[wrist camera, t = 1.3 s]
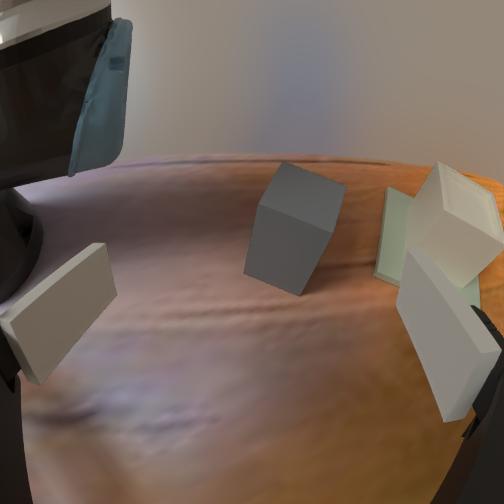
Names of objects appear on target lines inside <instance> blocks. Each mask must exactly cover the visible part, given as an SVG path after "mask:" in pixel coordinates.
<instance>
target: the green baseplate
mask: <svg viewBox="0 0 504 504" xmlns="http://www.w3.org/2000/svg"><path fill="white" fill-rule="evenodd" d="M413 199H414V198H413V197H411V196H409V195H406V194H404V193H402V192H400V191H398V190H396V189H394V188H392V187H390V186H388V187H387V189H386V191H385V200H384V209H383V217H382V224H381V232H380V239H379V245H378V252H377V258H376V264H375V269H374V275H373V276H374V277H376V278H379V279H381V280H383V281H386V282H388V283H390V284H393V285H395V286H397V287H400V282H401V277H402V272H403V266H404V254H405V240H406V223H407V208H408V207H409V205H410V204H411V202H412V201H413ZM452 284H453V283H452ZM453 285H454V286H455V287H456V289H457V290H458V291H459V292H460V294H461V295H462V296H463V297H464V299H465V300H466V301H467V303H468V304H469V305H475V306H476V307H477V308H479V309H480V291H479V277H478V275H477V276H476V277H475V278H474V279H473V280H471V281H470V282H469V283H468V284H467V285H466V286H465V287H464V288H462V287H460V286H458V285H455V284H453Z"/></svg>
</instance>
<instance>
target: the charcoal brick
mask: <svg viewBox="0 0 504 504" xmlns="http://www.w3.org/2000/svg"><path fill="white" fill-rule="evenodd" d="M345 190H346V186H345V185H343V184H340V183H338V182H335V181H333V180H330V179H328V178H325V177H323V176H320V175H318V174H315V173H313V172H310V171H308V170H305V169H302V168H300V167H297V166H294V165H292V164H289V163H286V162H284V161H282V163H281V165H280V167H279V168H278V170H277V172H276V174H275V175H274V177H273V179H272V180H271V182H270V184H269V186H268V187H267V189H266V191H265V193H264V194H263V196H262V198H261V199H260V201H259V203H258V207H257V211H256V216H255V221H254V226H253V230H252V235H251V240H250V245H249V250H248V254H247V259H246V264H245V269H244V274H246V275H248V276H251V277H253V278H256V279H258V280H260V281H263V282H265V283H268V284H270V285H272V286H275V287H277V288H280V289H282V290H285V291H287V292H289V293H292V294H294V295H297V296H300V295H301V293H302V291H303V289H304V287H305V286H306V284H307V282H308V280H309V278H310V276H311V275H312V273H313V271H314V269H315V267H316V265H317V263H318V262H319V260H320V258H321V256H322V254H323V252H324V250H325V248H326V247H327V245H328V243H329V241H330V239H331V237H332V235H333V233H334V229H335V226H336V222H337V219H338V215H339V212H340V208H341V205H342V201H343V197H344V194H345Z"/></svg>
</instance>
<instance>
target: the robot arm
mask: <svg viewBox="0 0 504 504" xmlns="http://www.w3.org/2000/svg"><path fill="white" fill-rule="evenodd" d="M132 29H133V26H132V22H131V21H129V20H126V19H122V18H116V19H115V20H112V18H111V0H0V303H1V302H2V301H4V300H5V299H7V298H8V297H9V296H11V295H12V294H13V293H14V292H15V291H16V290H17V289H18V288H19V287H20V286H21V285H22V283H23V282H24V281H25V280H26V278H27V277H28V275H29V274H30V272H31V271H32V269H33V267H34V265H35V263H36V261H37V258H38V256H39V253H40V249H41V245H42V226H41V222H40V220H39V218H38V216H37V214H36V212H35V210H34V208H33V207H32V205H31V204H30V203H29V202H28V201H27V200H26V199H25V198H24V197H23V196H22V195H21V194H20V193H18V192H17V191H16V190H15V189H14V188H13V187H17V186H21V185H25V184H30V183H34V182H39V181H43V180H48V179H53V178H57V177H62V176H68V177H73V176H74V175H75V174H76V173H79V172H83V171H87V170H92V169H96V168H101V167H105V166H107V165H109V164H111V163H112V162H113V161H114V160H115V159H116V158H117V157H118V156H119V154H120V152H121V150H122V146H123V138H124V127H125V113H126V101H127V87H128V76H129V65H130V54H131V42H132ZM116 296H117V292H116V288H115V283H114V279H113V275H112V270H111V266H110V261H109V257H108V252H107V247H106V243H92V244H91V245H89V246H88V247H87V248H85V249H84V250H82V251H81V252H80V253H78V254H77V255H76V256H74V257H73V258H72V259H70V260H69V261H68V262H66V263H65V264H64V265H62V266H61V267H60V268H58V269H57V270H56V271H54V272H53V273H52V274H51V275H49V276H48V277H47V278H46V279H44V280H43V281H42V282H40V283H39V284H38V285H37V286H35V287H34V288H33V289H32V290H31V291H29V292H28V293H27V294H26V295H24V296H23V297H22V298H21V299H20V300H18V301H17V302H16V303H15V304H14V305H13V306H11V307H10V308H9V309H8V310H7V311H6V312H4V313H3V314H2V315H1V316H0V504H33V501H32V496H31V491H30V486H29V480H28V474H27V468H26V461H25V453H24V443H23V432H22V417H21V382H20V378H19V376H18V375H17V373H18V372H19V371H20V369H22V371H23V373H24V375H25V376H26V378H27V380H28V381H30V382H32V383H35V384H37V385H40V386H42V384H43V383H44V382H45V381H46V379H47V378H48V377H49V376H50V374H51V373H52V372H53V370H54V369H55V368H56V367H57V365H58V364H59V363H60V362H61V361H62V359H63V358H64V357H65V356H66V354H67V353H68V352H69V351H70V349H71V348H72V347H73V346H74V345H75V343H76V342H77V341H78V340H79V339H80V337H81V336H82V335H83V334H84V333H85V332H86V330H87V329H88V328H89V327H90V326H91V325H92V323H93V322H94V321H95V320H96V319H97V318H98V316H99V315H100V314H101V313H102V312H103V311H104V310H105V308H106V307H107V306H108V305H109V304H110V303H111V302H112V301H113V299H114V298H115V297H116ZM396 307H397V310H398V312H399V314H400V316H401V318H402V320H403V322H404V325H405V327H406V329H407V331H408V334H409V336H410V338H411V340H412V343H413V345H414V347H415V350H416V352H417V354H418V357H419V359H420V361H421V364H422V366H423V369H424V371H425V374H426V376H427V379H428V381H429V384H430V386H431V389H432V392H433V394H434V397H435V400H436V402H437V405H438V408H439V410H440V413H441V416H442V419H443V422H444V423H445V422H451V421H456V420H461V419H464V418H465V416H466V415H467V413H468V412H469V410H470V408H471V407H472V406H473V408H474V411H475V413H476V416H475V417H474V419H473V420H472V422H471V423H470V425H469V426H468V428H467V429H466V431H465V432H464V433H463V435H462V436H461V437H465V438H464V441H463V443H462V445H461V447H460V449H459V451H458V453H457V456H456V458H455V460H454V462H453V464H452V466H451V468H450V469H449V471H448V473H447V475H446V477H445V479H444V481H443V482H442V484H441V486H440V488H439V490H438V491H437V493H436V495H435V496H434V498H433V500H432V501H431V503H430V504H504V338H503V336H502V335H501V334H500V332H499V331H497V328H496V327H495V326H494V324H493V323H491V320H490V319H489V318H488V316H487V315H486V314H485V313H484V312H483V311H482V310H480V309H479V308H477V307H476V306H475V305H469V304H468V303H467V301H466V300H465V299H464V297H463V296H462V295H461V294H460V292H459V291H458V290H457V289H456V287H455V286H454V285H453V284H452V282H451V281H450V280H449V279H448V278H447V276H446V275H445V274H444V273H443V272H442V271H441V269H440V268H439V267H438V266H437V265H436V263H435V262H434V261H433V260H432V259H431V258H430V257H429V255H428V254H427V253H426V252H425V251H424V250H423V249H411V248H406V255H405V261H404V266H403V272H402V277H401V282H400V288H399V292H398V297H397V302H396Z"/></svg>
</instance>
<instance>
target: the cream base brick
mask: <svg viewBox="0 0 504 504" xmlns="http://www.w3.org/2000/svg"><path fill="white" fill-rule="evenodd" d="M406 248H411V249H423V250H424V251H425V252H426V253H427V254H428V255H429V257H430V258H431V259H432V260H433V261H434V262H435V263H436V265H437V266H438V267H439V268H440V269H441V271H442V272H443V273H444V274H445V275H446V276H447V278H448V279H449V280H450V281H451V282H452V283H453V284H455V285H458V286H460V287H462V288H464V287H465V286H466V285H467V284H468V283H469V282H470V281H471V280H473V279H474V278H475V277H476V276H477V275H478V274H479V273H480V272H481V271H482V270H483V269H484V268H485V267H486V266H488V265H489V264H490V263H491V262H492V261H493V260H494V259H495V258H496V257H497V256H498V255H499V254H500V253H501V252H502V251H503V250H504V231H503V227H502V223H501V219H500V215H499V212H498V208H497V204H496V201H495V197H494V194H493V193H491V192H490V191H488V190H487V189H485V188H483V187H482V186H480V185H479V184H477V183H475V182H474V181H472V180H470V179H469V178H467V177H465V176H464V175H462V174H460V173H459V172H457V171H455V170H453V169H452V168H450V167H448V166H446V165H444V164H442V163H441V162H439V161H437V162H436V164H435V166H434V167H433V169H432V171H431V172H430V174H429V175H428V177H427V179H426V180H425V182H424V184H423V185H422V187H421V188H420V190H419V191H418V193H417V195H416V196H415V198H414V199H413V201H412V202H411V204H410V205H409V207H408V208H407V223H406V240H405V254H404V261H405V255H406Z"/></svg>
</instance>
